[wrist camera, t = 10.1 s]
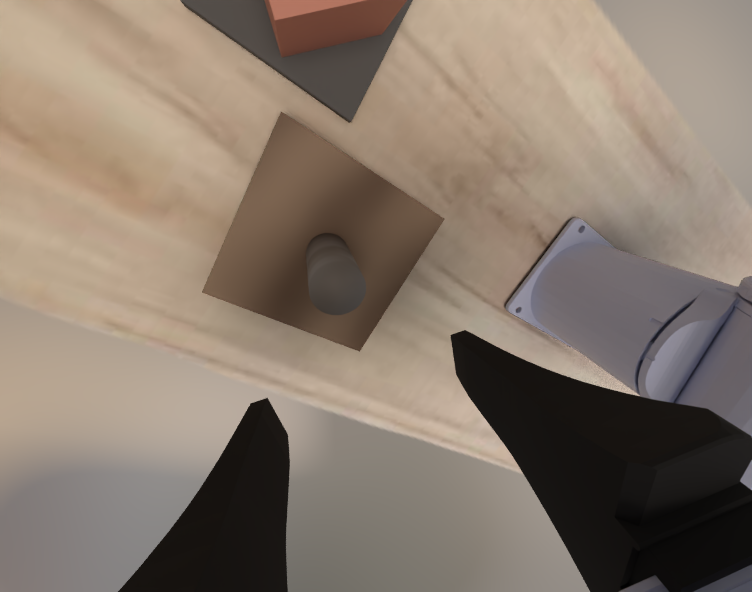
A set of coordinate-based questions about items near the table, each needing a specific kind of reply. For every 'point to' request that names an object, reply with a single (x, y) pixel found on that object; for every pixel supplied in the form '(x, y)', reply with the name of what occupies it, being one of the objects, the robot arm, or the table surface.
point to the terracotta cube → (327, 22)
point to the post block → (319, 240)
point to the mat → (308, 69)
